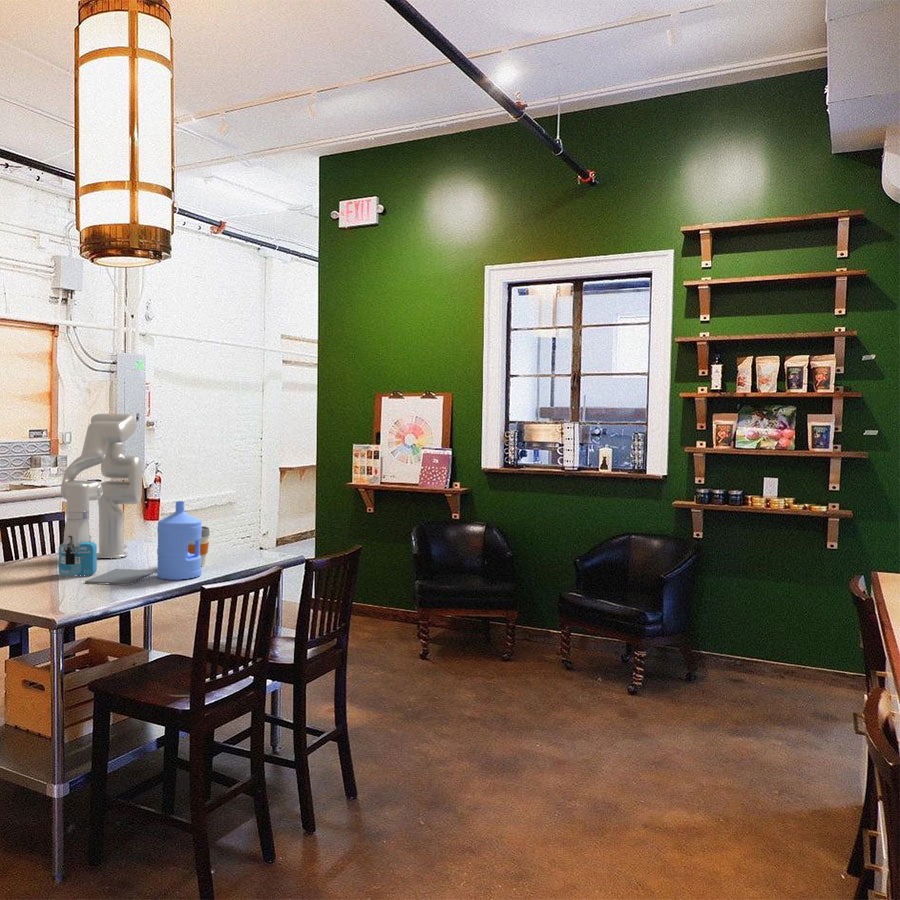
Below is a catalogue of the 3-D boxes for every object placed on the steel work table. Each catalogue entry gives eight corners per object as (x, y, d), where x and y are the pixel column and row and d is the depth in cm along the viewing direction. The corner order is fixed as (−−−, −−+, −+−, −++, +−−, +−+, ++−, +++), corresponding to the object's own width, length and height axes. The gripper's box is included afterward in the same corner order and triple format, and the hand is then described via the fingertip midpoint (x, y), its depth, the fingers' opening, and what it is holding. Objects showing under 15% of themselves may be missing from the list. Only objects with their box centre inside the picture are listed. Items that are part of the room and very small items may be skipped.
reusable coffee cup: (203, 569, 299) (203, 531, 299) (171, 568, 300) (171, 530, 299) (213, 563, 312) (214, 526, 311) (183, 562, 312) (183, 525, 311)
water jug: (154, 581, 276) (155, 504, 275) (159, 572, 291) (159, 499, 290) (200, 580, 280) (201, 504, 279) (202, 571, 295) (203, 499, 294)
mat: (116, 570, 292) (116, 568, 292) (156, 572, 291) (156, 570, 291) (85, 583, 270) (84, 581, 270) (128, 585, 269) (128, 582, 269)
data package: (58, 576, 281) (58, 543, 280) (63, 573, 285) (63, 541, 285) (92, 576, 283) (92, 544, 282) (96, 573, 287) (96, 541, 286)
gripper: (80, 513, 292) (80, 557, 292) (54, 518, 274) (54, 565, 275) (99, 513, 291) (99, 558, 292) (74, 519, 274) (74, 566, 274)
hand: (77, 562), depth 283 cm, fingers open, 9 cm apart
